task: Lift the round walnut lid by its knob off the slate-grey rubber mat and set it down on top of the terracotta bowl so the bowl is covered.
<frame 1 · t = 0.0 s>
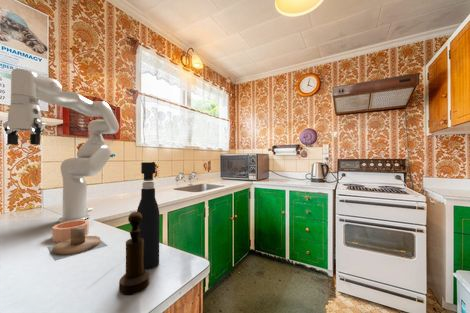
hand: (23, 144, 80), 37 cm above the countertop, tool pointing down, fingers open, 9 cm apart
bowl: (71, 236, 80), on the countertop
dark brown knobbed cylinder: (134, 287, 49), on the countertop
wine bottle: (147, 265, 59), on the countertop
lid: (77, 246, 70), resting on mat
mat: (77, 247, 70), on the countertop
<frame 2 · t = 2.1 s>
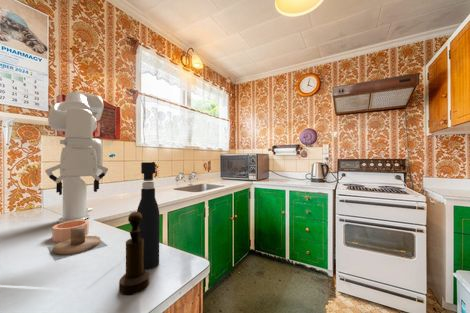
hand: (78, 193, 71), 19 cm above the countertop, tool pointing down, fingers open, 9 cm apart
nothing on the countertop moved.
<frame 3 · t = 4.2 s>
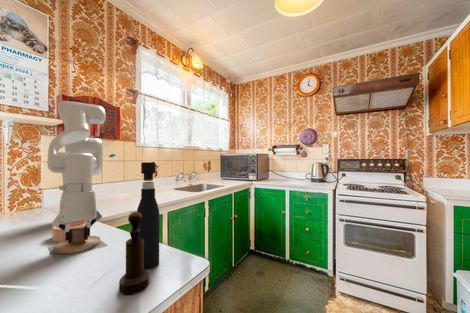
hand: (77, 239, 70), 3 cm above the countertop, tool pointing down, fingers closed on lid, 4 cm apart
lid: (77, 246, 70), point 1 cm above the countertop, touching gripper, mat
everything else where it was.
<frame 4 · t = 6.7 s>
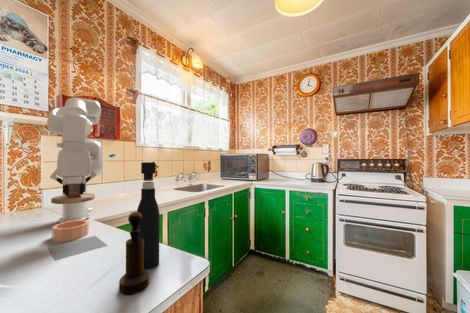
hand: (74, 194, 77), 17 cm above the countertop, tool pointing down, fingers closed on lid, 4 cm apart
lid: (74, 199, 77), point 15 cm above the countertop, touching gripper
everything else where it was.
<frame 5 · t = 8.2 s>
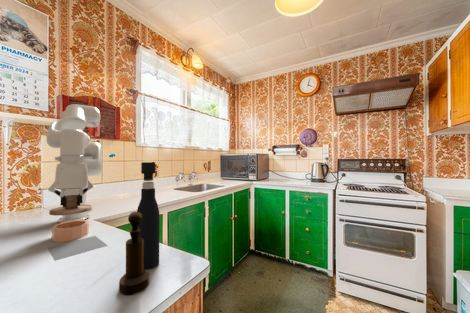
hand: (71, 205, 80), 12 cm above the countertop, tool pointing down, fingers closed on lid, 4 cm apart
lid: (71, 211, 80), point 10 cm above the countertop, touching gripper
everything else where it was.
when the fingers open (8 cm above the countertop, at t = 9.3 s): lid stays where it is, resting on bowl.
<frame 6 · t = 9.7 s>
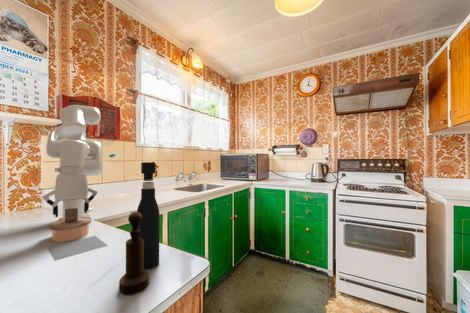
hand: (71, 214, 80), 9 cm above the countertop, tool pointing down, fingers open, 8 cm apart
lid: (71, 224, 80), point 5 cm above the countertop, touching bowl
everything else where it was.
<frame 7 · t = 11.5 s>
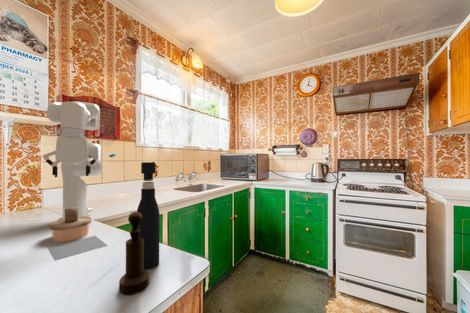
hand: (72, 176, 81), 24 cm above the countertop, tool pointing down, fingers open, 9 cm apart
nothing on the countertop moved.
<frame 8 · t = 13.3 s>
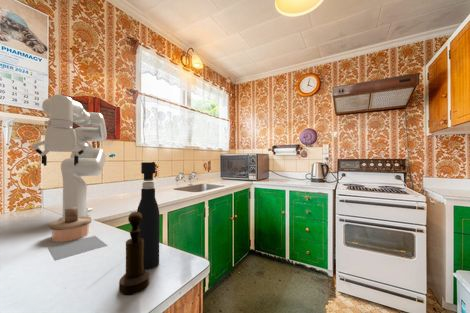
hand: (60, 165, 85), 28 cm above the countertop, tool pointing down, fingers open, 9 cm apart
nothing on the countertop moved.
at the end: lid 0.1 cm from the bowl (horizontally); lid point 5.0 cm above the countertop; lid tilted 0° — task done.
